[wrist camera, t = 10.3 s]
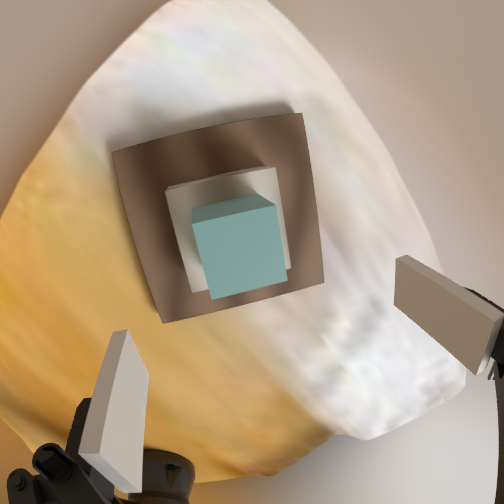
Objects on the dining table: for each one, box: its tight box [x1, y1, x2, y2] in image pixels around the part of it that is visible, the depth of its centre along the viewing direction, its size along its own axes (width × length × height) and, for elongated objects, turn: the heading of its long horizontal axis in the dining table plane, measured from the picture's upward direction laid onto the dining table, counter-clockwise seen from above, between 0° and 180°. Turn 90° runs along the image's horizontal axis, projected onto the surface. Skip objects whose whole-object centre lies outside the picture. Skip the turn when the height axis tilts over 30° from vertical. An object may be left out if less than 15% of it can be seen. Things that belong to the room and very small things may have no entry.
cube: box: [192, 194, 288, 300], centre depth 24 cm, size 6×6×6 cm
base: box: [112, 113, 324, 324], centre depth 29 cm, size 20×20×6 cm
